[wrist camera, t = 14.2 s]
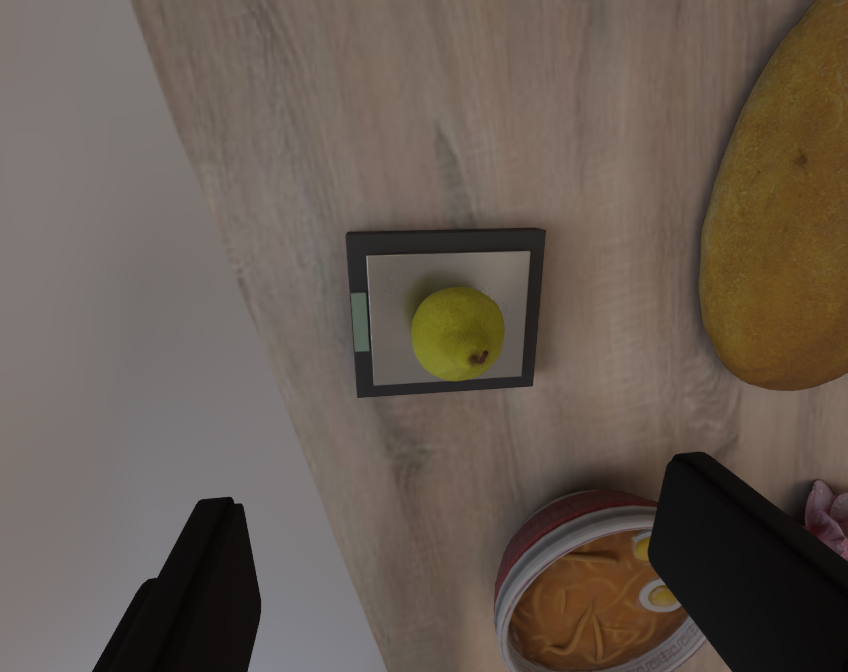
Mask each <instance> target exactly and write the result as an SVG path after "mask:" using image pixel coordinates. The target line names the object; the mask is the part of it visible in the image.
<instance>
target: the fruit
mask: <svg viewBox="0 0 848 672" xmlns="http://www.w3.org/2000/svg"><path fill="white" fill-rule="evenodd" d="M411 333H412V344H413V350H414V353H415V355H416V358H417V359H418V361H419V362H420V364H421V365H422V367H423V368H425V369H426V370H427V371H428V372H429V373H431V374H432V375H434V376H436V377H439V378H441V379H444V380H447V381H463V380H468V379H473V378H476V377H478V376H480V375H482V374H484V373H485V372H486V371H487V370H489V369H490V367H491V366H492V365H493V364H494V363H495V361H496V360H497V359H498V357H499V356H500V353H501V350H502V345H503V340H504V333H505V327H504V320H503V315H502V313H501V311H500V309H499V306H498V305H497V303H496V302H495V301H493V300H492V299H491V298H490V297H489V296H487V295H486V294H484V293H482V292H481V291H479V290H476V289H473V288H471V287H452V288H447V289H442V290H439V291H437V292H435V293H433V294H431V295H430V296H428V297H427V298H425V300H424V301H423V302H422V303H421V304H420V306H419V308H418V309H417V311H416V313H415V316H414V318H413V321H412V328H411Z"/></svg>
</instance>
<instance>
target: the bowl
mask: <svg viewBox="0 0 848 672" xmlns="http://www.w3.org/2000/svg"><path fill="white" fill-rule="evenodd" d="M657 506H658V503H657V502H655V501H653V500H649V499H646V498H643V497H640V496H636V495H633V494H629V493H626V492H622V491H611V490H589V491H579V492H575V493H571V494H567V495H564V496H561V497H559V498H557V499H554V500H552V501H550V502H548V503H547V504H545V505H544V506H542V507H540V508H539V509H537V510H536V511H535V512H534V513H533V514H532V515H530V516H529V517H528V518H527V519H526V520H525V521H524V522H523V524H522V525H521V526H520V527H519V529H518V530H517V531H516V533H515V534H514V536H513V537H512V539H511V541H510V543H509V544H508V546H507V548H506V550H505V552H504V554H503V558H502V561H501V564H500V568H499V571H498V575H497V579H496V583H495V598H494V623H495V629H496V634H497V640H498V644H499V649H500V653H501V657H502V659H503V661H504V662H505V664H506V666H507V668H508V670H509V671H510V672H673V671H674V670H676V669H677V668H679V667H680V666H681V665H683V664H684V663H685V662H687V661H688V660H689V659H690V658H691V657H692V656H693V655H695V654H696V653H697V652H698V651H699V650H700V649H701V648H702V647H703V646H704V645H705V643H706V642H707V641H708V639H707V638H706V637H705V636H704V634H703V633H702V632H701V630H700V629H699V628H698V626H697V625H696V624H695V622H694V621H693V620H692V619H691V617H690V616H689V615H688V613H687V612H686V611H685V609H684V608H683V607H682V606H681V604H680V603H679V602H678V600H677V599H676V598H675V596H674V595H673V594H672V592H671V591H670V590H669V589H668V587H667V586H666V585H665V583H664V582H663V581H662V579H661V578H660V577H659V576H658V574H657V573H656V572H655V570H654V569H653V567H652V566H651V564H650V562H649V559H648V553H647V551H648V545H649V541H650V537H651V532H652V528H653V523H654V519H655V515H656V510H657Z"/></svg>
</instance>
